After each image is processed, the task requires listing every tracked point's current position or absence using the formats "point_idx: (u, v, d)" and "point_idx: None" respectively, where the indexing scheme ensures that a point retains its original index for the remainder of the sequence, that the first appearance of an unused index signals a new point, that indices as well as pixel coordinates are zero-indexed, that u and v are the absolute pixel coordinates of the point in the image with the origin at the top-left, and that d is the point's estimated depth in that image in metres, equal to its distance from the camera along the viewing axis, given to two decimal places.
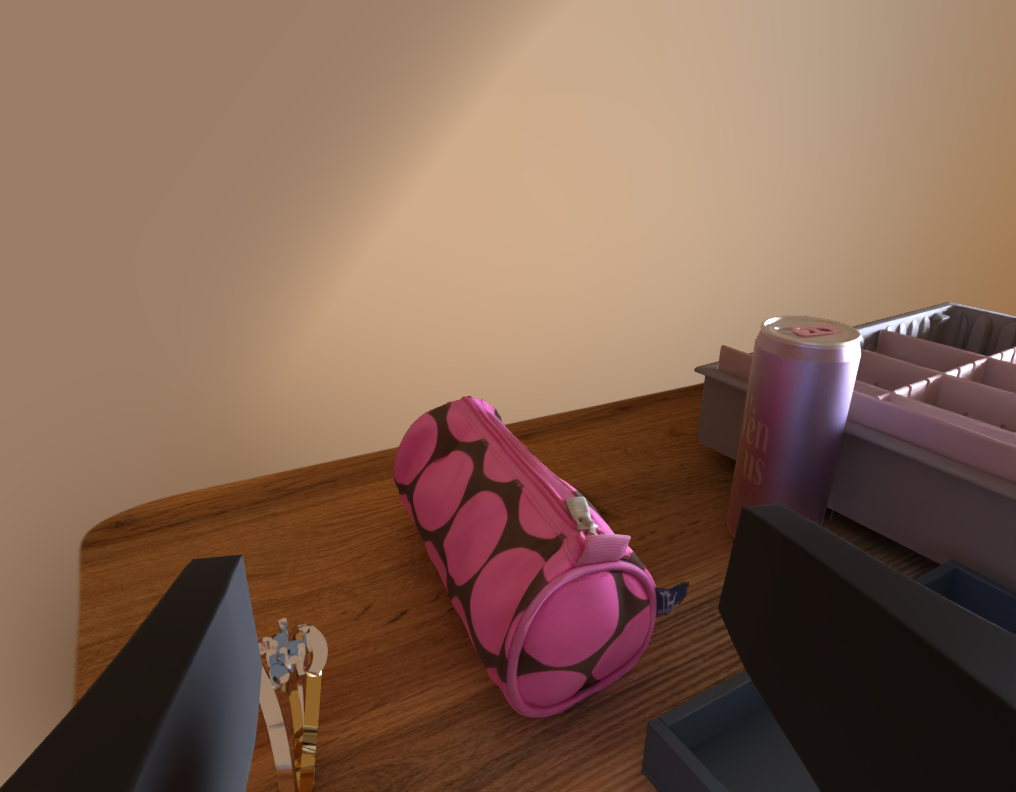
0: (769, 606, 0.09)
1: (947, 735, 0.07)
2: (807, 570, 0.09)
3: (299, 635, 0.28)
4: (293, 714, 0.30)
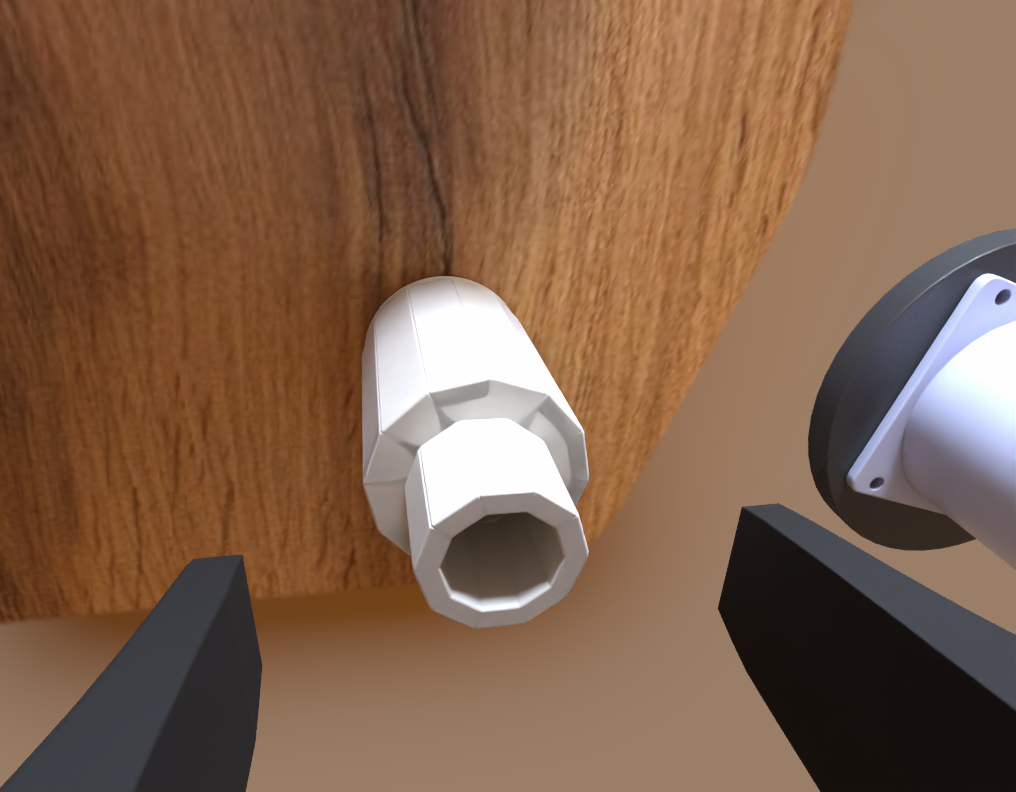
0: (769, 606, 0.09)
1: (947, 735, 0.07)
2: (807, 570, 0.09)
3: None
4: None
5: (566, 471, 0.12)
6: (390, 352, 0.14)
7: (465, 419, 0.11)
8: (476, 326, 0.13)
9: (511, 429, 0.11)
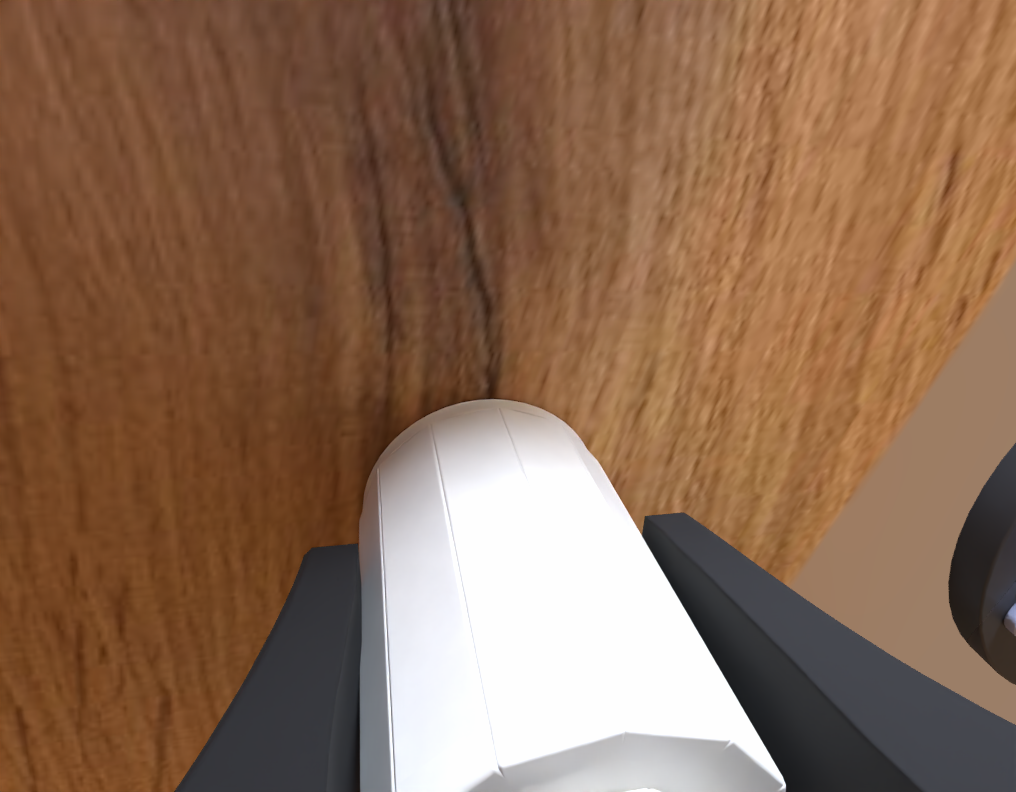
0: None
1: (810, 759, 0.06)
2: (696, 583, 0.08)
3: None
4: None
5: None
6: (408, 577, 0.08)
7: None
8: (561, 537, 0.08)
9: None
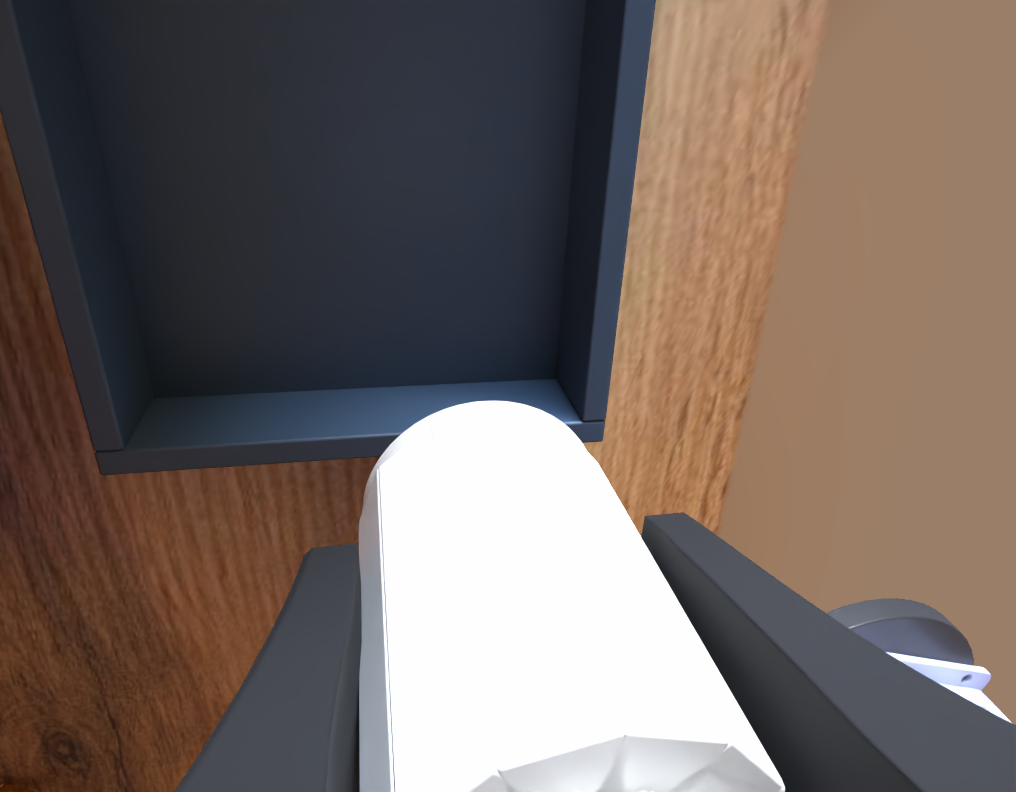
0: None
1: (810, 759, 0.06)
2: (696, 583, 0.08)
3: None
4: None
5: None
6: (408, 579, 0.08)
7: None
8: (560, 539, 0.08)
9: None
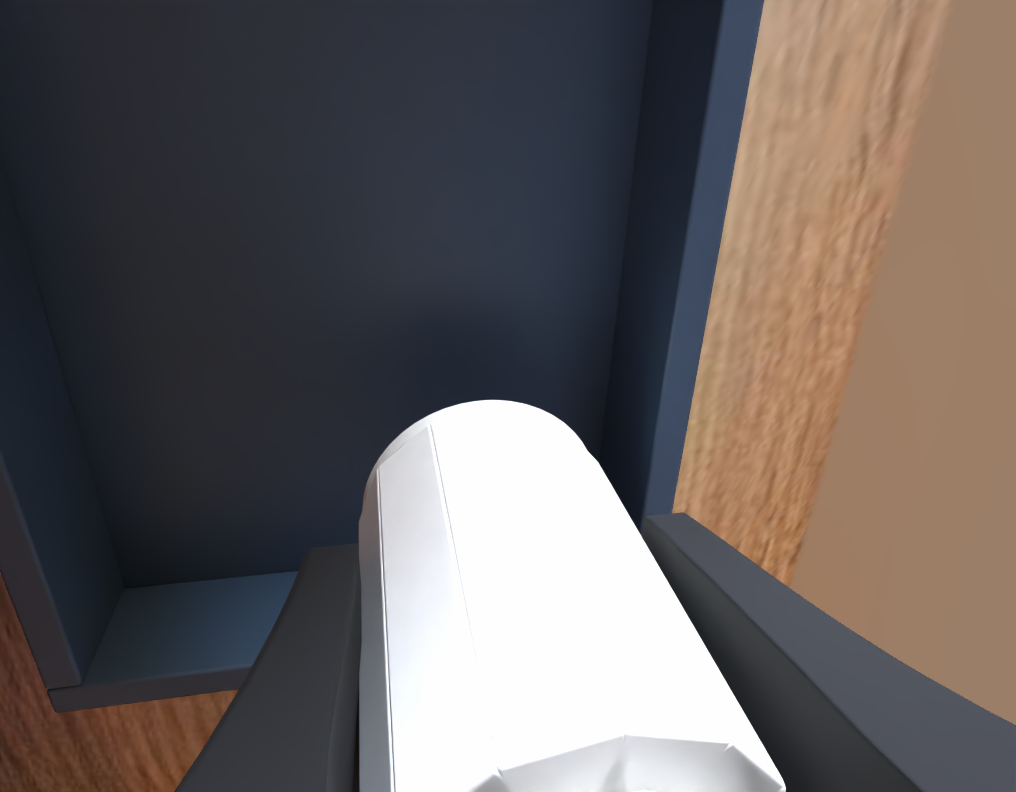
0: None
1: (810, 759, 0.06)
2: (696, 583, 0.08)
3: None
4: None
5: None
6: (408, 578, 0.08)
7: None
8: (560, 538, 0.08)
9: None
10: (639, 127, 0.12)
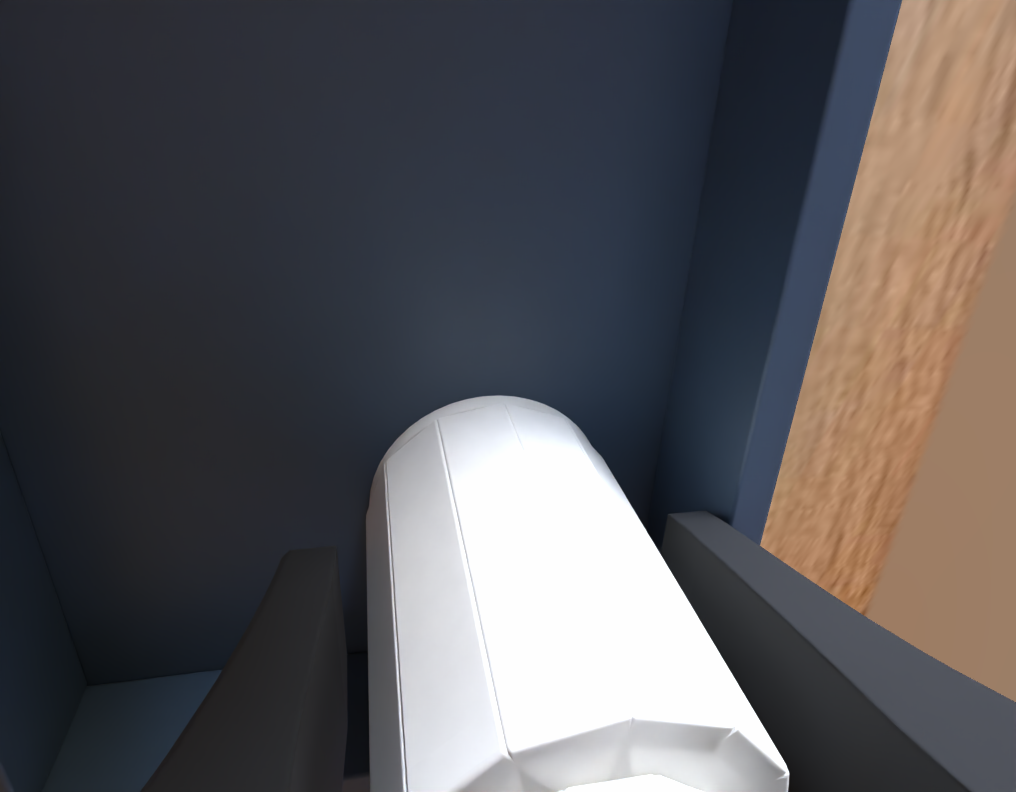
0: None
1: (843, 753, 0.06)
2: (722, 580, 0.08)
3: None
4: None
5: None
6: (417, 569, 0.08)
7: (576, 785, 0.06)
8: (567, 530, 0.08)
9: None
10: (711, 144, 0.10)
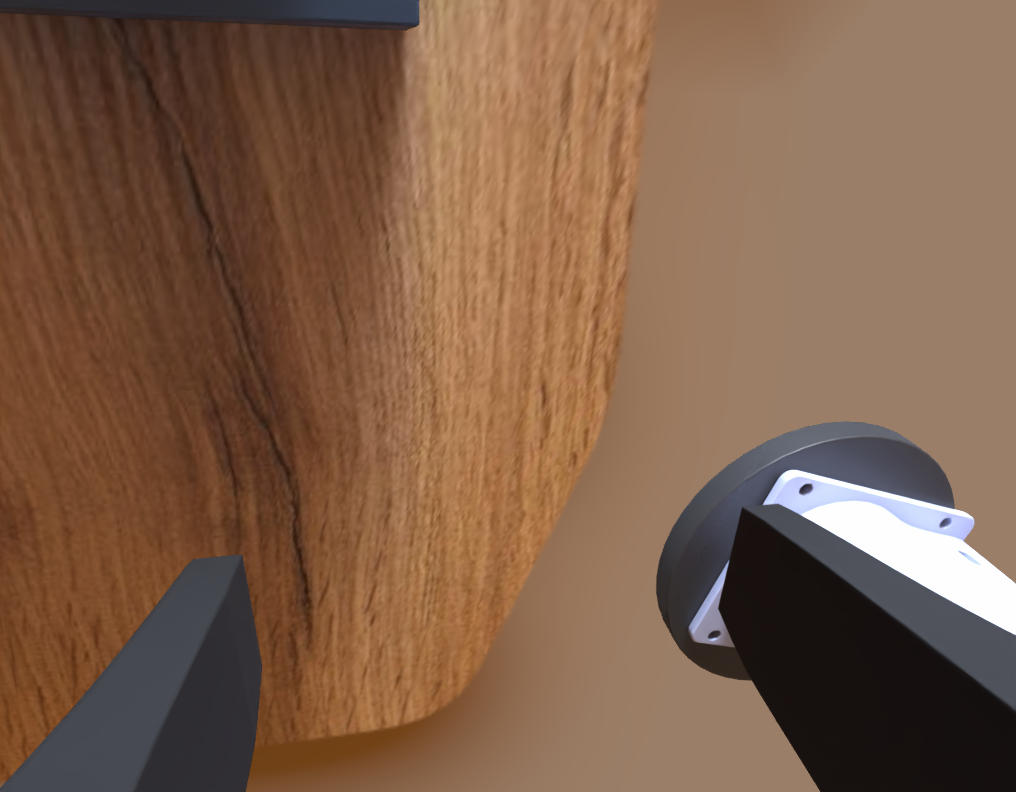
0: (769, 606, 0.09)
1: (947, 735, 0.07)
2: (807, 570, 0.09)
3: None
4: None
5: None
6: None
7: None
8: None
9: None
10: None
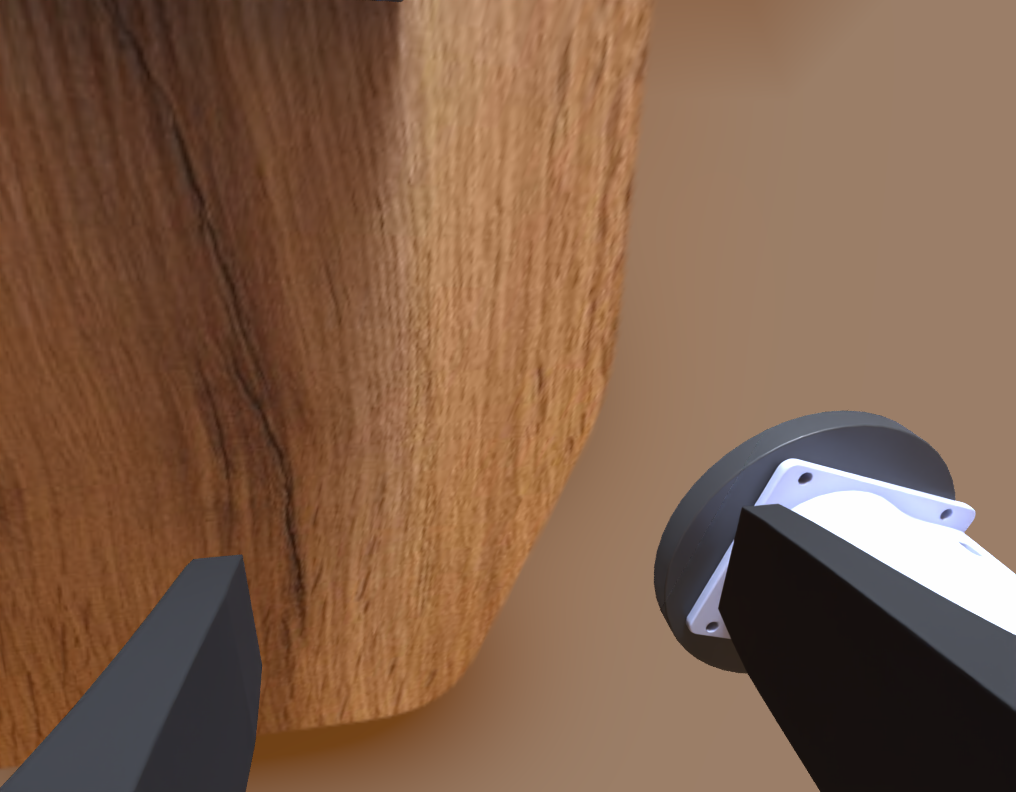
0: (770, 606, 0.09)
1: (947, 735, 0.07)
2: (807, 570, 0.09)
3: None
4: None
5: None
6: None
7: None
8: None
9: None
10: None
